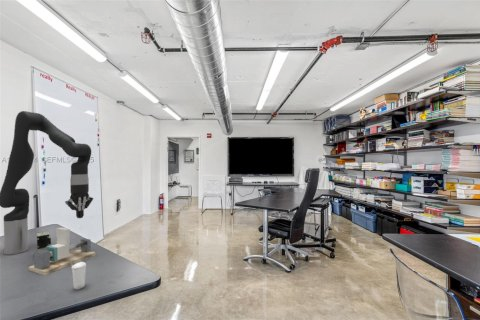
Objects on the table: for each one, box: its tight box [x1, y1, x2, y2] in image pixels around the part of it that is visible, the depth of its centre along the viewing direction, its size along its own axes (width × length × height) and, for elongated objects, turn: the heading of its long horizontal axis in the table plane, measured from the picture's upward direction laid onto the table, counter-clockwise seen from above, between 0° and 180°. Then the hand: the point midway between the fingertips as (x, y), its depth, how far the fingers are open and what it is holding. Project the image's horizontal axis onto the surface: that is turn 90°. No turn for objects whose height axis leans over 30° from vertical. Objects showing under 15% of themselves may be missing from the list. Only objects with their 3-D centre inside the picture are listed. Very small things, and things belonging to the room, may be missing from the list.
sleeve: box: [51, 227, 71, 260], centre depth 109 cm, size 5×7×13 cm
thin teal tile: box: [46, 245, 58, 262], centre depth 106 cm, size 1×6×6 cm, turn 67°
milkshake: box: [70, 261, 87, 290], centre depth 88 cm, size 4×5×10 cm
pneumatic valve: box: [35, 230, 52, 250], centre depth 121 cm, size 6×12×12 cm, turn 42°
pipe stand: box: [28, 238, 96, 276], centre depth 111 cm, size 22×12×8 cm, turn 157°
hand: (79, 217), depth 118 cm, fingers closed
